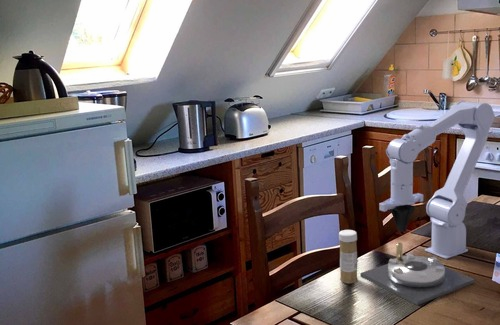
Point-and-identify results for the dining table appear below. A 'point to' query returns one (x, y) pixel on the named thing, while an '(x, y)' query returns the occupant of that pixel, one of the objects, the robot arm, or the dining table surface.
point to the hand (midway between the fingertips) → (401, 230)
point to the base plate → (417, 293)
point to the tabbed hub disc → (415, 269)
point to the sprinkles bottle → (348, 256)
